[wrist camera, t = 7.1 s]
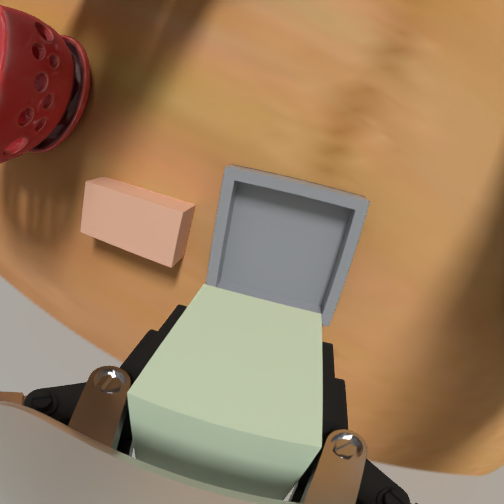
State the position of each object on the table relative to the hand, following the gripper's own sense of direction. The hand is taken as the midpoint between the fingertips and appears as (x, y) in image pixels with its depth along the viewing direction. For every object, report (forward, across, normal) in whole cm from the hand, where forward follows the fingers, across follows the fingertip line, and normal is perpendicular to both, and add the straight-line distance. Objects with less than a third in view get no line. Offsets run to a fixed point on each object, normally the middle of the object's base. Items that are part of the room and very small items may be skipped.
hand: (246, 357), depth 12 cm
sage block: (+1, 0, 0) cm, 1 cm away
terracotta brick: (+14, +12, 0) cm, 18 cm away
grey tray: (+14, 0, 0) cm, 14 cm away
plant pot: (+14, +24, -10) cm, 29 cm away
